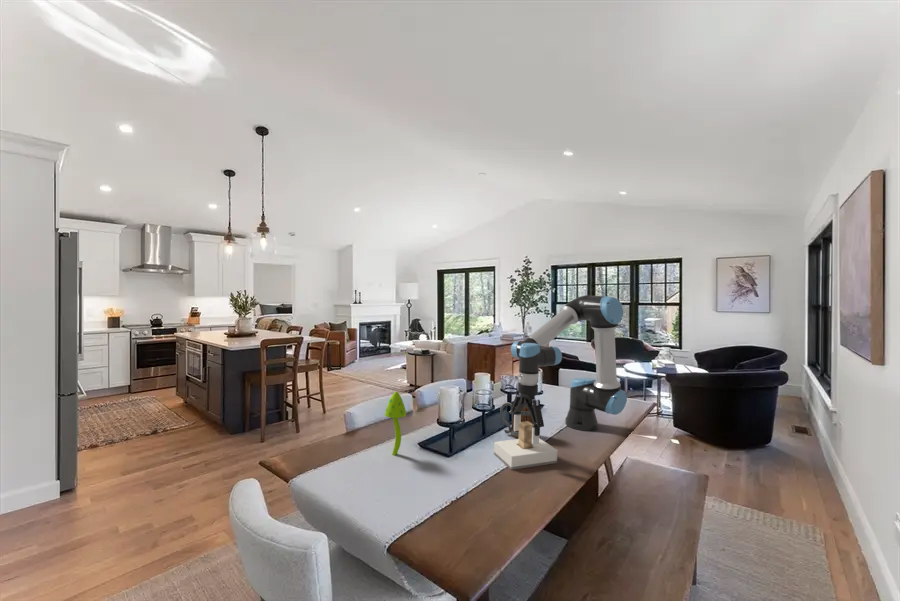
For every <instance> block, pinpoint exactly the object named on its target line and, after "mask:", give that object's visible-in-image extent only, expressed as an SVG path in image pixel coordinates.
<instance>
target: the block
mask: <svg viewBox="0 0 900 601" xmlns="http://www.w3.org/2000/svg"><path fill="white" fill-rule="evenodd" d="M493 455H494V456H495V457H496V458H498V460H500V461H501V462H502V463H503V464H504V465H505V466H506V467H507V468H509V469H510V470H511V471H512V470H520V469H524V468H532V467H533V468H534V467H540V466H546V465H552V464H558V449H557V448H555V447H553V446H552V445H550V444H549V443H548V442H546V441H544V440H543V439H542V438H540V437H539V443H538V444H533V446H532V448H530V449H522V448H521V447H519V446H518V439H516V438H514V439H506V440H500V441H494V444H493Z"/></svg>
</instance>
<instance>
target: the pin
mask: <svg viewBox="0 0 900 601" xmlns="http://www.w3.org/2000/svg"><path fill="white" fill-rule="evenodd" d="M532 426H533V424H532V423H530V422H528V421H526V422H519V438H518V446H519V447H521V448H522V449H530V448H532V446H533V444H532Z"/></svg>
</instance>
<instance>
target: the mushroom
mask: <svg viewBox="0 0 900 601" xmlns="http://www.w3.org/2000/svg"><path fill="white" fill-rule="evenodd" d="M384 416H385V417H387V418H390V419H391V418H392V421H393V426H394V432H395V434H394V436H395V439H394V446H393V450H392V453H391V455H392V456H397V455H398V452H399V450H400V447H401V445H402V444H401V442H402V431H401V426H400V422H399V418H404V417H406V416H407V409H406V406H405V404H404V401H403V399H402V396H401V395H400V393H399V392H398V391H395V392H393V394H392V395H391V396H390V398H389V401H388V403H387V405H386V409H385V411H384Z"/></svg>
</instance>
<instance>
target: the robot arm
mask: <svg viewBox="0 0 900 601" xmlns="http://www.w3.org/2000/svg"><path fill="white" fill-rule="evenodd" d="M623 317H624V308H623V304H622V302H621V301H620V300H619V299H618V298H617V297H613V296H608V295H607V296H606V295H589V294H588V295H582V296H578V297H577V298H574V299H572V300H570V301H568V303H566V304H564V305H563V306H562V307H561V308H560V310H559V312H558V313H557V314H555V315H554V316H553V317H551V318H550V319H549V320H547V322H545V323H544V324H543V325H541V327H539V328H538V329H536V331H534V332H533V333H532V334H530V335H529V336H528V337H527V338H525V339H524V340H518V341H517V340H516V341H514V342H513V343H512V344H511V345H510V346H511V347H510V353H511V355H512V357H513V358H515V359H518V365H519V366H518V368H519V369H518V382H519V383H518V387H517V390H516V392H515V397H514V400H513V403H512V408H511V407H510V410H511V411H513V413H514V431H519V422H521V411H522V409H523V408H524V406H525V407H526V408H527V410H529V412H530V415H531V418H532V421H533V424H534V426H532V444H538V443H539V438H540V436H541V435H540V434H541V428H544V427H545V423H544V420H543V419H544V418H543V413H542V409H541V408H542V407H541V400H540V399H536V395H538V393H539V392H538V390H539V385H538V383H539V371H540V370H539V369H540V368H541V367H549V366H551V367H553V366H557V365H559V364H560V363H561V362H562V360H563V359H562V358H563V354H562V351H561V349H560V348H558V347H557V346H547V345H548V344H549V343H551V342H552V341H554V339H555V338H556V337H558V336H559V335H560V334H561V333H563V332H564V331H565V330H566V329H568V327H570V326H571V325H576V324H577V323H578V322H580V321H587V322H588V321H589V323H590V324H589V326H590V328H591V329H592V330H593V331H594V334H593V335H594V350H595V351H594V353H595V368H596V370H595V371H596V379H595V378H591V377H578V378H577V377H576V378H573V379H572V380H571V381H570V387H569V388H570V389H569V390H570V391H569V392H570V395H569V397H570V398H569V409H568V412H567V415H566V417H565V419H564V421H565V423H564V424H565V425H566V426H567V427H569V428H571V429H574V430H579V431H586V432H587V431H594V430H597V429H598V428H599V427H598V426H599V425H598V424H599V423H598V420H597V415H596V412H595V411H596V410H597V411H601V412H603V413H606V414H610V415H615V416H616V415H619V414H621V413H622V412H623V410H624V409H625V407H626V404H627V401H628V394H627V393H626V391H624V390H623V389H622V387H621V386H622V385H621V383H620V381H618V374H617V356H616V355H617V354H616V334H615V333H616V329H617V328H618V327H619V323H621V322H622V321H623ZM532 406H533V407H532ZM515 407H516V408H515ZM513 413H512V414H513Z"/></svg>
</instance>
